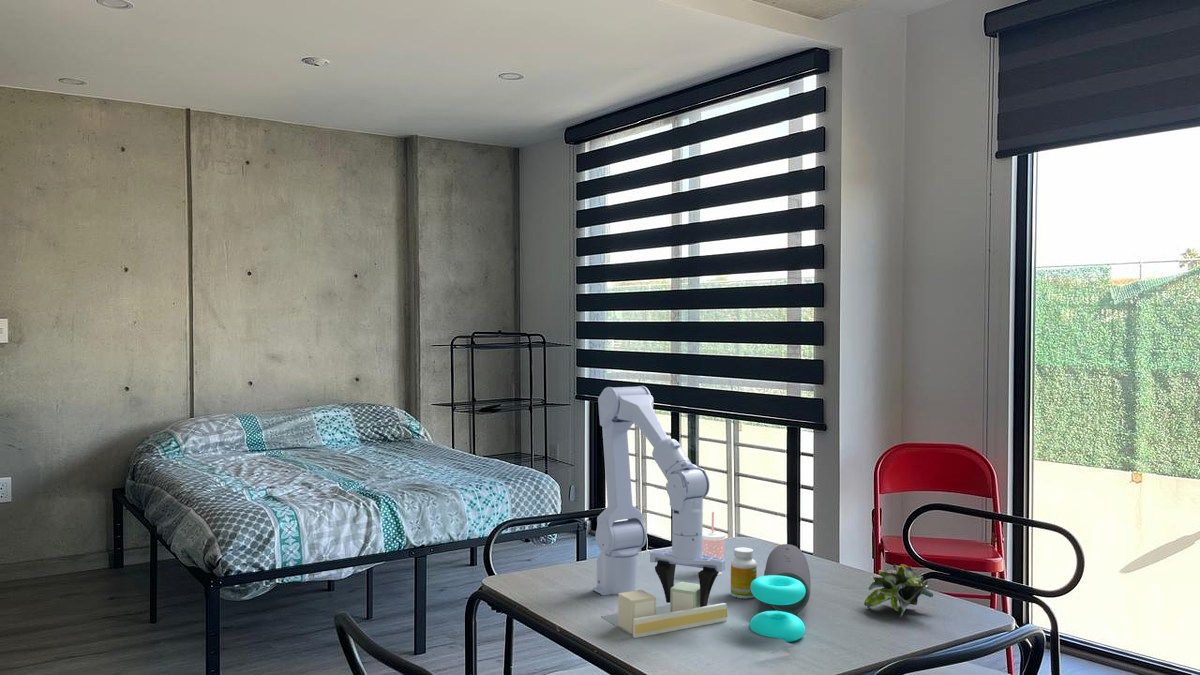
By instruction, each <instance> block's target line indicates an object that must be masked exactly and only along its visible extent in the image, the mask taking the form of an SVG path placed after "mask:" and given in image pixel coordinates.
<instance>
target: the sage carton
mask: <svg viewBox="0 0 1200 675" xmlns="http://www.w3.org/2000/svg"><path fill="white" fill-rule="evenodd" d="M669 605H670V612H674V611H680V610H686V609H692V608H697V607H700V583H693V582H687V581H686V582H685V581H679V582H677V583H676V584H674V586H673V587H672V588H671V594H670V604H669Z"/></svg>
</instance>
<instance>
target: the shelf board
mask: <svg viewBox="0 0 1200 675" xmlns="http://www.w3.org/2000/svg"><path fill="white" fill-rule="evenodd" d="M727 605H728V604H727V603H725V602H721V603H715V604H711V605H707V606H703V607H697V608H692V609H686V610H680V611H674V612H670V604H667V605H661V606H660V605H659V606H656V615H652V616H646V617H640V618H634V619H633V634H631V633H629V632H628V631H626V630H625V629H623V628H621V627H620V626H618V613H613V614H606V615H601V616H600V617H601V618H602V619H604V620H606V622H608V623H610V624H612V625H613V626H615V627H616V628H618V629H620V630H621V631H623V632H625V634H627V635H629V636H631V637H633V638H634V639H638V638H643V637H649V636H654V635H661V634H665V633H670V632H675V631H681V630H686V629H691V628H698V627H703V626H708V625H713V624H714V625H715V624H718V623H719V624H720V623H725V622H727V620H728V619H727V618H728V608H727V607H728V606H727Z"/></svg>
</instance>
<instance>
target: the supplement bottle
mask: <svg viewBox="0 0 1200 675" xmlns="http://www.w3.org/2000/svg"><path fill="white" fill-rule="evenodd" d="M733 550H734V551H733V552H734V553H733V556H734V558H732V559H731V560H730V595H731V596H732V597H734V598H736V597H737V599H742V598H743V600H745V599H748V598H749V599H753V598H755V597H754V596H753V594H752V592H751V589H750V586H751V583H752V581H753V580H754V579H756V578H757V570H758V569H757V565H758V564H757V561H756V560H755V559H753V557H754V549H753V548H750V547H742V546H741V547H736V548H733Z"/></svg>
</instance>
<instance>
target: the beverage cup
mask: <svg viewBox="0 0 1200 675" xmlns="http://www.w3.org/2000/svg"><path fill="white" fill-rule="evenodd" d="M714 521H715V512H714V511H712V512H711V530H704V531H703V530H702V554H703V555H707V556H711V557H715V558H720V559H724V554H725V553H724V551H725V540H726V539H727V538H726V537H727V534H726V533H725V532H722V531H719V530H718V531H717V530H715V529H714V528H715V527H714V525H715V522H714ZM701 570H703V568H701ZM720 574H721V575H722V574H723V571H722V572H719V573H718V575H717V576H720Z"/></svg>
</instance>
